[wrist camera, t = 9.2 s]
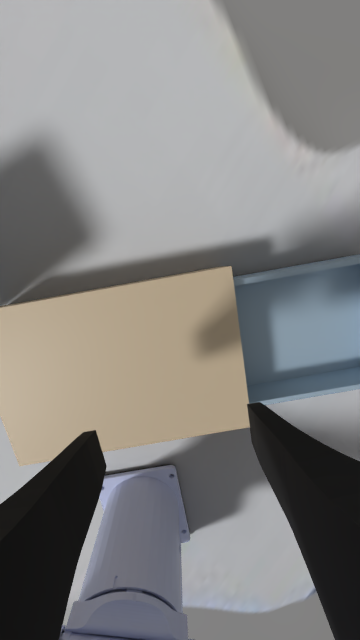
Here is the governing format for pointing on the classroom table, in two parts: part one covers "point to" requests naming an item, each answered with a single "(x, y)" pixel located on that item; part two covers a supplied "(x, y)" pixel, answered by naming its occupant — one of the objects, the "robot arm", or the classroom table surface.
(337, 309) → the tray
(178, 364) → the sleeve
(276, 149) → the classroom table surface
